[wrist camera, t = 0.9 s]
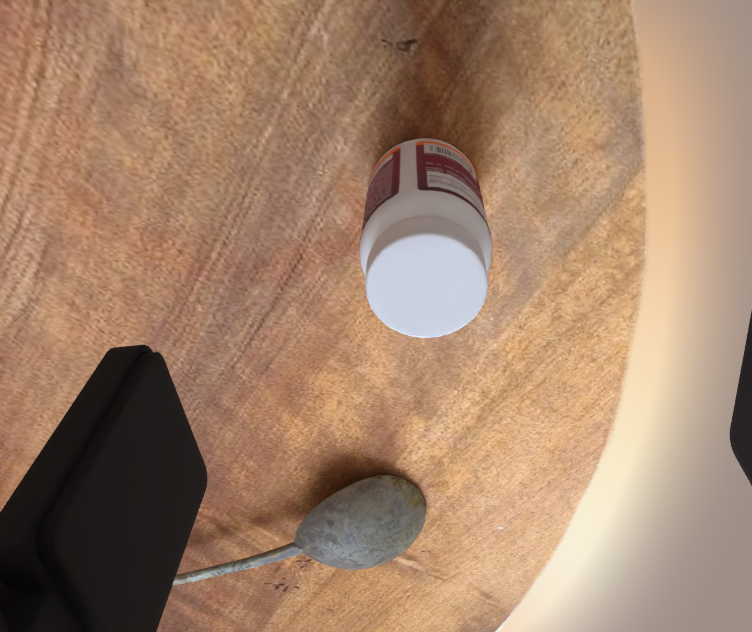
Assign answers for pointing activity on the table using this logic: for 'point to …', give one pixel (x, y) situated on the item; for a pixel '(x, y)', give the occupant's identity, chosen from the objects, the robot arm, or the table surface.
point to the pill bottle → (425, 239)
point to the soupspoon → (346, 529)
